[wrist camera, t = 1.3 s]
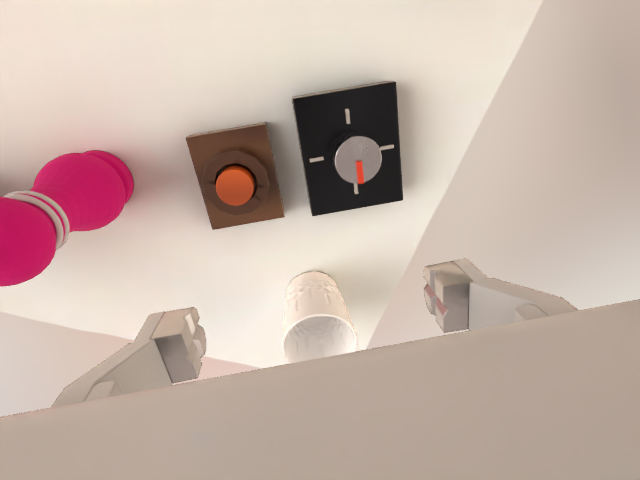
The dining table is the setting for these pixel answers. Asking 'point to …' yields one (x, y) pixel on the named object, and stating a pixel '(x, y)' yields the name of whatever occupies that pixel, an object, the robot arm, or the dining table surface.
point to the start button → (235, 185)
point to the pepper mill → (59, 210)
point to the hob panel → (335, 119)
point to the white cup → (315, 320)
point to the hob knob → (355, 157)
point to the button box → (245, 151)
